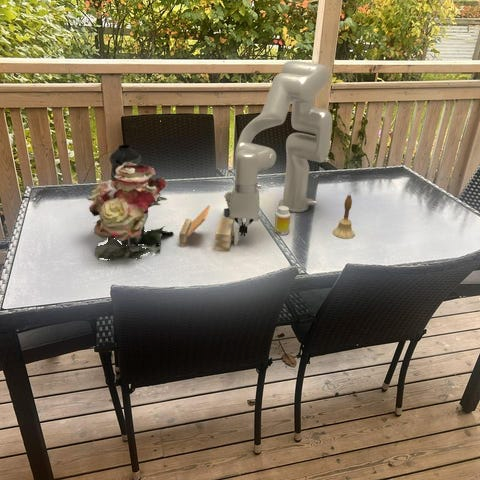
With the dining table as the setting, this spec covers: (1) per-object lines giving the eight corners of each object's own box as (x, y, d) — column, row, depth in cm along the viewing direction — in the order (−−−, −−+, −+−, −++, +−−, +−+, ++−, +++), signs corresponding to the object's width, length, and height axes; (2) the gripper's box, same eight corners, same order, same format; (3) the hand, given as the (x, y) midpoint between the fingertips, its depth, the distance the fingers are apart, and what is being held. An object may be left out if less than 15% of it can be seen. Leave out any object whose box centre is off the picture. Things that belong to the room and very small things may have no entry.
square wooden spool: (233, 233, 171) (233, 217, 168) (229, 251, 159) (229, 234, 156) (186, 229, 172) (186, 214, 169) (179, 247, 160) (178, 230, 157)
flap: (210, 206, 165) (208, 204, 165) (205, 220, 155) (203, 218, 155) (193, 223, 169) (191, 221, 169) (187, 238, 159) (185, 236, 159)
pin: (238, 239, 167) (239, 227, 164) (237, 245, 163) (238, 233, 161) (216, 237, 167) (216, 226, 165) (214, 243, 163) (215, 231, 161)
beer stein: (146, 194, 199) (143, 138, 187) (153, 213, 183) (150, 153, 171) (107, 198, 194) (101, 140, 182) (111, 217, 178) (105, 156, 166)
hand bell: (341, 240, 170) (348, 201, 162) (328, 231, 176) (334, 193, 169) (358, 236, 173) (366, 198, 166) (345, 227, 180) (351, 190, 172)
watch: (234, 211, 188) (235, 187, 183) (242, 220, 181) (243, 194, 176) (221, 213, 186) (222, 188, 180) (229, 222, 179) (230, 196, 174)
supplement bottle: (291, 234, 173) (293, 209, 168) (278, 236, 170) (280, 212, 165) (283, 227, 177) (286, 203, 172) (271, 230, 175) (273, 206, 170)
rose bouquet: (99, 227, 171) (90, 149, 157) (176, 230, 171) (174, 153, 157) (76, 262, 148) (63, 176, 134) (165, 266, 149) (161, 181, 134)
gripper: (267, 184, 157) (264, 231, 166) (225, 181, 158) (223, 228, 167) (267, 192, 151) (263, 241, 159) (222, 189, 151) (221, 237, 160)
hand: (243, 234), depth 163 cm, fingers closed
